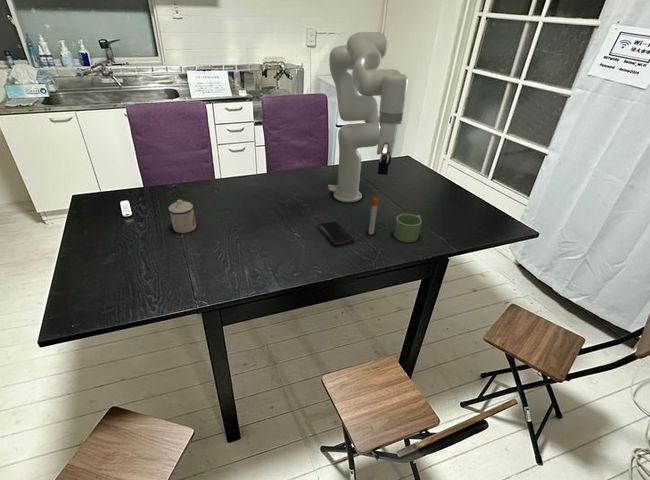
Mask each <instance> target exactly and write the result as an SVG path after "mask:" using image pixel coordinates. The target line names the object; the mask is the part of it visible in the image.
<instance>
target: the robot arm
mask: <svg viewBox="0 0 650 480" xmlns="http://www.w3.org/2000/svg"><path fill="white" fill-rule="evenodd" d="M388 45H389V43H388V39H387V37H386V35H385V34H384V33H383V32H380V31H360V32H355V33H353V34H351V35H350V36H349V37H348V39H347V41H346V44H344V45H338V46H335V47H333V48H332V49H331V50H330V53H329V58H328V63H329V64H328V65H329V71H330V75H331V77H332V80H333V83H334V85H335V86H334V87H335V91H336V99H337V107H338V114H339V118H340V120H342V122H356V123H346V124H344V125H342V126H341V127H340V128H339V129H338V131H337V139H338V140H337V141H338V172H337V184H335V185H333V184H328V186H327V190H328V191H329V192H333V198H334V199H335V200H337V201H339V202H343V203H356V202H358V201H360V200H361V199H362V196H363V195H362V192H360V191H359V190H360V182H361V181H360V180H361V169H362V156H361V154H360V152H359V151H358V150H357V149H361V148H372V147H377V150H376V155H378V156H379V155H380V157H379V162H378V166H377V167H378V168H377V174H378V175H382V176H384V175H385V176H387V175H388V173H389V167H390V166H389V165H391V162H392V155H393V151H394V149H395V144H396V139H397V133H398V128H399V127H398V126H399V125H401V124H403V117H404V111H405V105H406V104H405V103H406V97H407V89H408V83H409V78H408V76H407V75H406V74H404V73H401V72H400V71H399V70H397V69H394V68H393V69H392V68H391V69H390V68H387V69H381V68H380V69H378V68H379V67H380V66H381V62H382V60H383V58H384V57H385V56H386V54H387V51H388ZM349 71H352V72H351V73H352V74H351V73H350V72H349ZM377 96H380V100H379V101H380V102H379V105H378V101H377V99H376V98H375V97H377ZM361 121H362V122H361ZM363 121H364V122H363ZM360 122H361V123H360Z"/></svg>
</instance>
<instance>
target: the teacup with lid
mask: <svg viewBox="0 0 650 480" xmlns="http://www.w3.org/2000/svg"><path fill="white" fill-rule="evenodd" d="M168 212H169V216H170V220H171V225H172V228H173V231H174V232H176V233H178V234H187V233H191V232H193V231H194V230H195V229H196V228H197V222H196V216H195V210H194V205H193V204H192V202H189V201H185V200H182V199H177V200H176V201H175V202H173V203H172V204H170V205H168Z"/></svg>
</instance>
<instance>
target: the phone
mask: <svg viewBox="0 0 650 480" xmlns="http://www.w3.org/2000/svg"><path fill="white" fill-rule="evenodd" d="M318 228H319V230H320V231H321V233H322V234H323V235H324V236H325V237H326V239H327V240H328V241H329V242H330V244H331V245H332V246H335V247H337V246H338V247H339V246H342V245H347V244H352V242H353V238H352V236H351V235H350V234H349V233H348V232H347V231H346V230H345V228H343V227H342V226H341V224H340V223H339V222H338V221H336V220H333V221H329V222H328V221H327V222H323V223H319V224H318Z"/></svg>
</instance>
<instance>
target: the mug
mask: <svg viewBox="0 0 650 480" xmlns="http://www.w3.org/2000/svg"><path fill="white" fill-rule="evenodd" d="M422 222H423V220H422V217H421V215H420V214H419V215H416V214H413V213H401V214H398V215H397V216H396V218H395V223H394V230H393V237H394V238H395V239H396V240H397V241H400V242H404V243H414V242H417V241H418V240H419V238H420V237H419V236H420V233H421V228H422V225H423V224H422Z"/></svg>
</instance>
